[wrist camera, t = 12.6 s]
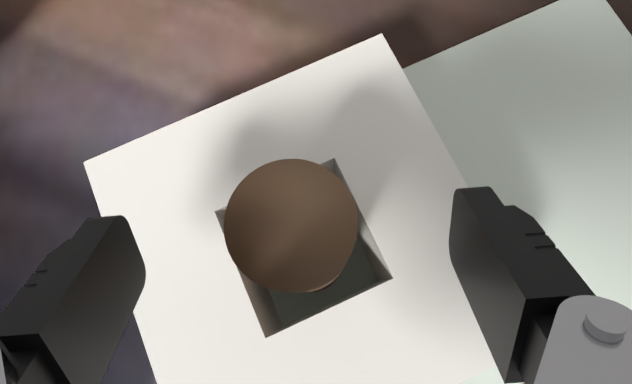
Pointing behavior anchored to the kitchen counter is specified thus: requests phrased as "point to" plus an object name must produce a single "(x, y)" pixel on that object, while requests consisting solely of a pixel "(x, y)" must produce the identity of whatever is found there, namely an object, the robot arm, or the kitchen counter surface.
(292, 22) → the kitchen counter surface
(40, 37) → the kitchen counter surface
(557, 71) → the mat
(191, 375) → the hole block
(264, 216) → the dowel
